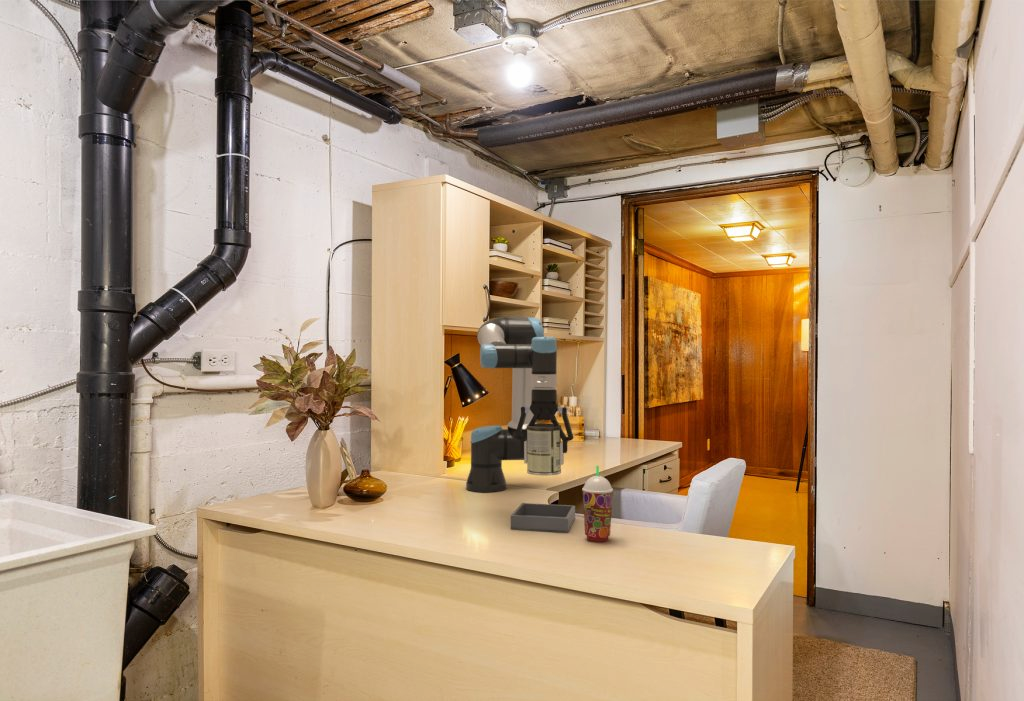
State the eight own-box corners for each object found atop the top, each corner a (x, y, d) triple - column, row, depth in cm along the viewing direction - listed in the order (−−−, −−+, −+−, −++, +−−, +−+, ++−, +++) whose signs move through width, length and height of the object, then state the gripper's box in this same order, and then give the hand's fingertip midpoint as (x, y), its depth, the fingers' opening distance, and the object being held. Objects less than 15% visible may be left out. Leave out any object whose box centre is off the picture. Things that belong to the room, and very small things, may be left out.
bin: (522, 515, 205) (522, 503, 205) (575, 518, 201) (575, 505, 201) (510, 529, 189) (510, 515, 189) (568, 532, 185) (568, 518, 185)
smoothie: (593, 545, 173) (593, 469, 173) (576, 537, 181) (576, 464, 181) (619, 541, 177) (619, 466, 177) (601, 533, 184) (601, 462, 185)
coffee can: (527, 469, 201) (528, 423, 201) (561, 470, 200) (561, 423, 200) (525, 475, 191) (525, 426, 191) (560, 476, 190) (560, 427, 190)
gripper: (504, 388, 194) (504, 464, 194) (580, 389, 189) (580, 466, 189) (509, 387, 202) (509, 460, 201) (583, 388, 197) (583, 462, 196)
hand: (544, 463), depth 195 cm, fingers closed on coffee can, 10 cm apart
